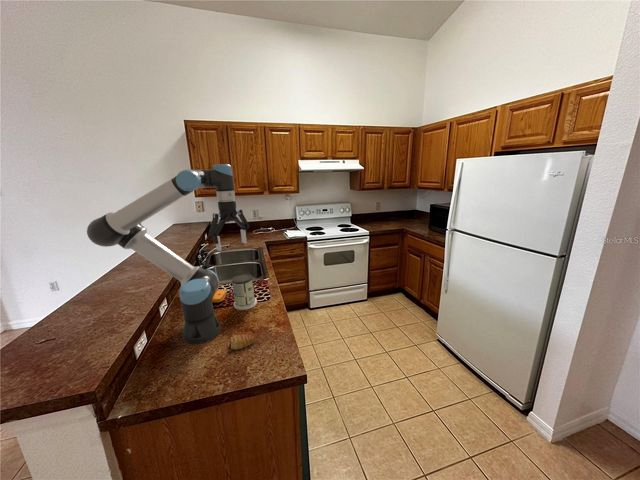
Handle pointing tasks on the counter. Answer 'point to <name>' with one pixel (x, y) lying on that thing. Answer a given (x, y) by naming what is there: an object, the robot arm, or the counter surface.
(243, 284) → the coffee can
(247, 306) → the plate
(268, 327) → the counter surface
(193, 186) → the robot arm
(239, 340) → the pastry
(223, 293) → the bracket
